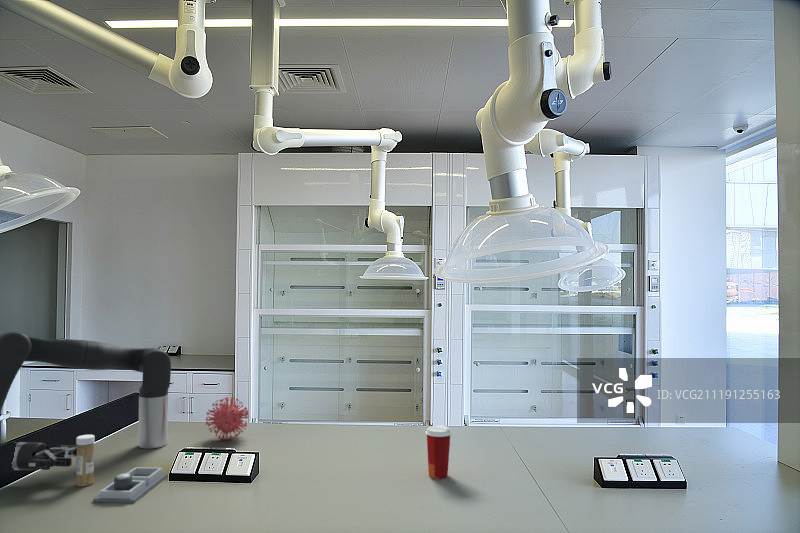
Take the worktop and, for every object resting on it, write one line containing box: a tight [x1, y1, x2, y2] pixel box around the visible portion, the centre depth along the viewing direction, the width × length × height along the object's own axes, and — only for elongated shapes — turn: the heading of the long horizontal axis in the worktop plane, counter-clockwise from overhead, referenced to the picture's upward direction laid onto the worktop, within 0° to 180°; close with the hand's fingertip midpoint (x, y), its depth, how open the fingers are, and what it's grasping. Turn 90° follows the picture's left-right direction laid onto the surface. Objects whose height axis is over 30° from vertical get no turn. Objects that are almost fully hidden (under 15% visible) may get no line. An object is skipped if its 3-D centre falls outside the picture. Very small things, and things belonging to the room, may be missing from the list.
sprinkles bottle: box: [75, 434, 96, 487], centre depth 162 cm, size 5×5×14 cm
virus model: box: [205, 396, 250, 440], centre depth 207 cm, size 15×15×15 cm
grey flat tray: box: [92, 466, 168, 504], centre depth 158 cm, size 19×11×5 cm, turn 178°
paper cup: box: [424, 425, 452, 480], centre depth 171 cm, size 8×8×14 cm
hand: (80, 457), depth 162 cm, fingers open, 8 cm apart
